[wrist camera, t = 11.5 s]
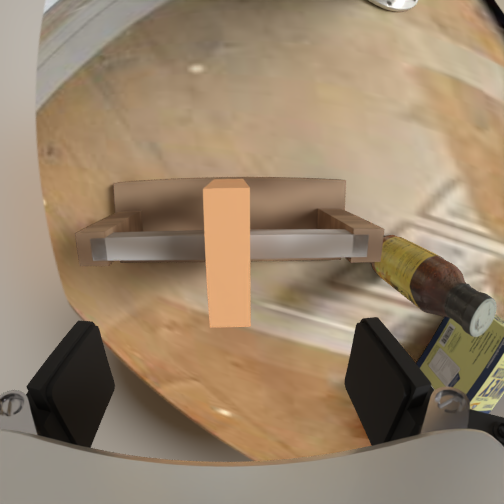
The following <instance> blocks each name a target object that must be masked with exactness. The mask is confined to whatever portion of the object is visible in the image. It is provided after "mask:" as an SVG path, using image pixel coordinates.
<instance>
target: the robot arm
mask: <svg viewBox="0 0 504 504" xmlns="http://www.w3.org/2000/svg"><path fill="white" fill-rule="evenodd" d="M368 1H370V2H372V3H373V4H375V5H377V6H379V7H381V8H384V9H387V10H391V11H397V12H403V11H407V10H409V9H411V8H413V7H414V6H415V5H416V4H417V2H418V0H368ZM431 384H432V383H431V382H430V381H429V379H428V378H427V377H426V376H425V374H424V373H423V372H422V371H421V369H420V368H419V367H418V366H417V364H416V363H415V362H414V361H413V359H412V358H411V357H410V356H409V354H408V353H407V352H406V351H405V350H404V348H403V347H402V346H401V345H400V343H399V342H398V341H397V340H396V339H395V337H394V336H393V335H392V334H391V333H390V331H389V330H388V329H387V328H386V327H385V325H384V324H383V323H382V322H381V321H380V320H379V318H377V317H374V318H364V319H362V320H361V322H360V323H357V325H356V328H355V334H354V339H353V344H352V349H351V354H350V359H349V363H348V368H347V372H346V377H345V387H346V390H347V392H348V394H349V396H350V399H351V401H352V403H353V405H354V407H355V409H356V412H357V414H358V416H359V418H360V420H361V423H362V425H363V427H364V429H365V431H366V434H367V436H368V438H369V440H370V443H371V445H372V446H368V447H363V448H358V449H353V450H348V451H343V452H337V453H331V454H325V455H318V456H311V457H302V458H293V459H283V460H270V461H252V462H197V461H179V460H167V459H157V458H147V457H140V456H133V455H126V454H120V453H114V452H108V451H103V450H98V449H93V448H91V445H92V442H93V440H94V437H95V435H96V432H97V430H98V427H99V425H100V423H101V420H102V418H103V415H104V413H105V410H106V407H107V406H108V403H109V401H110V399H111V396H112V394H113V392H114V387H115V384H114V380H113V376H112V373H111V370H110V367H109V363H108V360H107V357H106V353H105V350H104V346H103V342H102V338H101V334H100V330H99V328H98V326H95V324H94V323H93V322H90V321H78V322H77V323H76V324H75V325H74V326H73V328H72V329H71V330H70V331H69V332H68V333H67V335H66V336H65V337H64V338H63V340H62V341H61V342H60V343H59V345H58V346H57V347H56V348H55V350H54V351H53V352H52V354H51V355H50V356H49V357H48V359H47V360H46V361H45V363H44V364H43V365H42V366H41V368H40V369H39V370H38V372H37V373H36V374H35V376H34V377H33V378H32V380H31V381H30V383H29V384H28V385H27V389H28V393H27V394H26V395H25V394H24V393H23V392H21V391H17V390H11V391H7V392H5V393H3V394H1V395H0V504H504V418H503V417H499V416H495V415H491V414H487V413H483V412H480V411H476V410H472V409H470V401H469V399H468V397H467V395H466V394H465V393H464V392H462V391H461V390H459V389H456V388H454V387H440V388H438V389H436V390H435V391H434V389H433V388H432V387H431Z"/></svg>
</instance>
